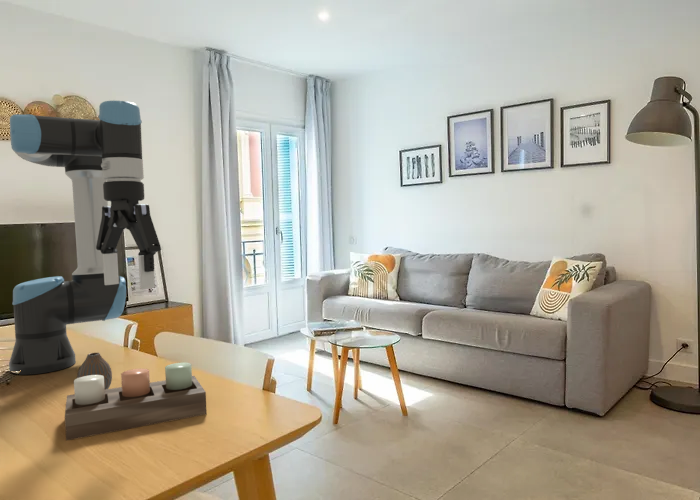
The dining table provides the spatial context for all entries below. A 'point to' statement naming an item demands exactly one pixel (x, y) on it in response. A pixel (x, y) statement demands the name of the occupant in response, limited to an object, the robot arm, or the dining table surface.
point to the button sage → (178, 376)
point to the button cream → (89, 389)
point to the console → (133, 409)
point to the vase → (96, 368)
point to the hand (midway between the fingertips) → (128, 286)
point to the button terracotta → (135, 382)
